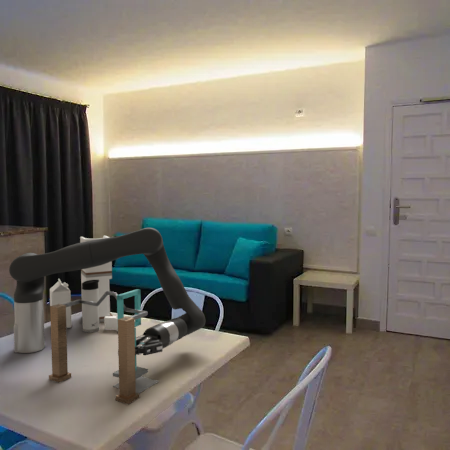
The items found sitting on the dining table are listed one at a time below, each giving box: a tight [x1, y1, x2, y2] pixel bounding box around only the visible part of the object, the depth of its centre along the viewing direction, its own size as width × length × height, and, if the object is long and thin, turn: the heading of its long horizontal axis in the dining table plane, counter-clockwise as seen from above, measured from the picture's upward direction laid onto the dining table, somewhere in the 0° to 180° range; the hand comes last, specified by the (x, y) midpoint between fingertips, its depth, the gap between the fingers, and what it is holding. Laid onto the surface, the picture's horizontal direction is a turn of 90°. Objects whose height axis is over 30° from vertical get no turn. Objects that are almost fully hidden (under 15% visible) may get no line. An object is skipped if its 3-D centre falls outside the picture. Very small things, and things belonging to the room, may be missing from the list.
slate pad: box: [112, 375, 160, 394], centre depth 127 cm, size 9×9×1 cm
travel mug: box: [81, 280, 100, 333], centre depth 175 cm, size 6×7×20 cm
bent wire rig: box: [48, 290, 149, 405], centre depth 126 cm, size 30×11×26 cm, turn 60°
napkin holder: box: [103, 315, 118, 332], centre depth 177 cm, size 15×11×6 cm
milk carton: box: [49, 278, 73, 329], centre depth 180 cm, size 7×7×19 cm
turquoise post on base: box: [112, 288, 149, 379], centre depth 127 cm, size 8×7×24 cm
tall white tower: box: [79, 235, 114, 323], centre depth 190 cm, size 11×11×35 cm
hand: (123, 353), depth 125 cm, fingers closed on turquoise post on base, 2 cm apart
